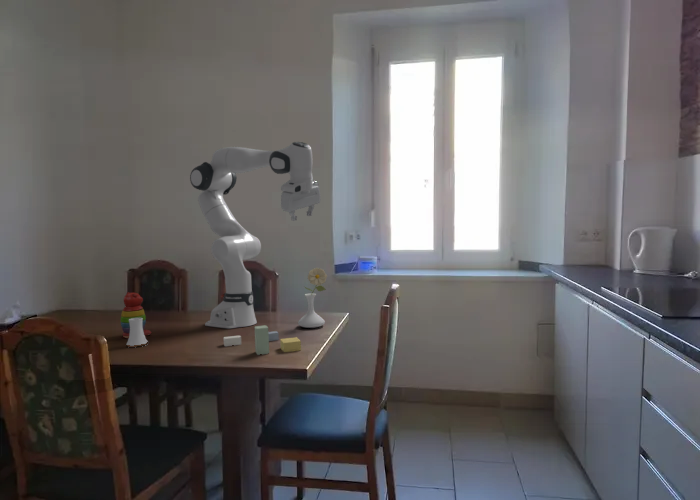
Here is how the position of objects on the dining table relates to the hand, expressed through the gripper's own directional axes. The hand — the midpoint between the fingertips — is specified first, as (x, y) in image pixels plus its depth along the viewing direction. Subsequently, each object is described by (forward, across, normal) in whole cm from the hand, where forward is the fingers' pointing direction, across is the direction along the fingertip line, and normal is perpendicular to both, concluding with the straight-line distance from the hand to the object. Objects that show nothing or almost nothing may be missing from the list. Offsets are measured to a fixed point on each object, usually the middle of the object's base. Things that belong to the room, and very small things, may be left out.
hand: (301, 218), depth 199 cm
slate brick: (+41, +28, +8) cm, 50 cm away
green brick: (+36, +41, +18) cm, 58 cm away
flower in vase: (+45, +3, +9) cm, 46 cm away
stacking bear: (+47, +51, -45) cm, 83 cm away
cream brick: (+40, +40, 0) cm, 57 cm away
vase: (+43, +59, -31) cm, 79 cm away
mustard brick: (+37, +33, +24) cm, 55 cm away
